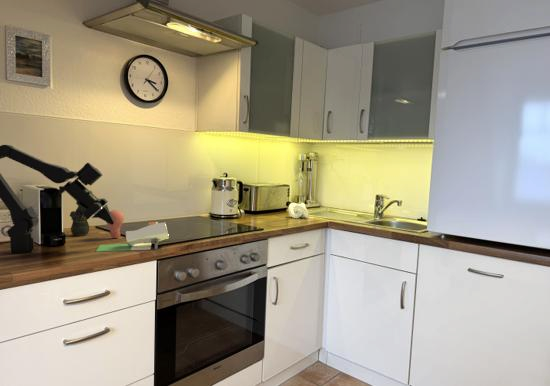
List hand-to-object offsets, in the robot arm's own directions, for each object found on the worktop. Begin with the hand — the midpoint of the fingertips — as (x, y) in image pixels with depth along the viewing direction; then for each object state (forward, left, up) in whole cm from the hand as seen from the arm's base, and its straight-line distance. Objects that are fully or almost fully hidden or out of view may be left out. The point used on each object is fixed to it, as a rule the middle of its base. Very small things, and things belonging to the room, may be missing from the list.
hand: (113, 223), depth 145 cm
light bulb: (+3, +18, -10) cm, 21 cm away
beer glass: (+5, -1, -6) cm, 8 cm away
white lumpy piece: (+112, +34, -10) cm, 117 cm away
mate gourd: (-9, +31, -10) cm, 34 cm away
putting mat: (+5, -1, -9) cm, 11 cm away
